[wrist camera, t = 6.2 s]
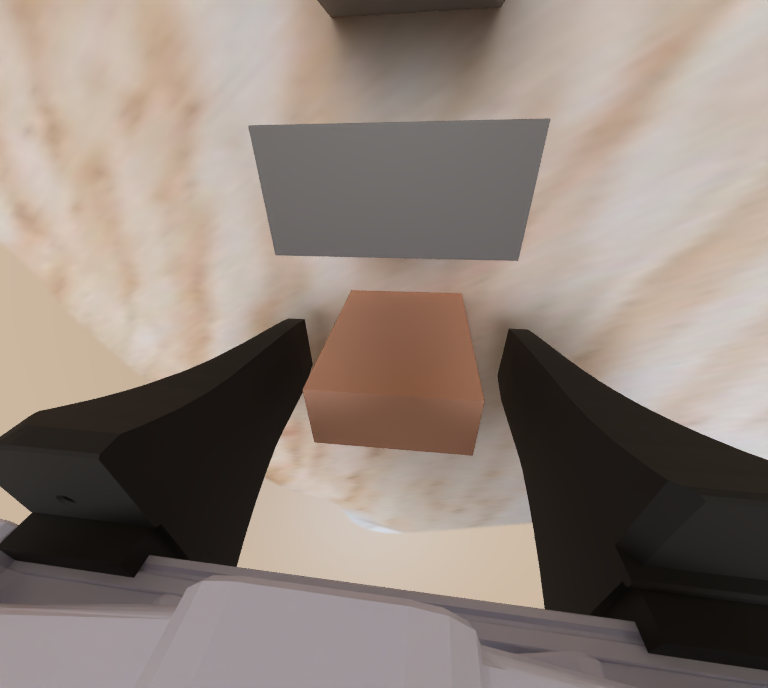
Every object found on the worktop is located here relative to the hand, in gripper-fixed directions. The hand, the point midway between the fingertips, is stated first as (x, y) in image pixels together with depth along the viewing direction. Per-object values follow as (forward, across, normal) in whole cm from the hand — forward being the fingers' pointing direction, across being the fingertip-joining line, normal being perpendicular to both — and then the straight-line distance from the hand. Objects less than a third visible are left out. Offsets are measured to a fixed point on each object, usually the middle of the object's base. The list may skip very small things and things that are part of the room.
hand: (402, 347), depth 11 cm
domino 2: (+2, 0, 0) cm, 2 cm away
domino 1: (+2, 0, -6) cm, 6 cm away
